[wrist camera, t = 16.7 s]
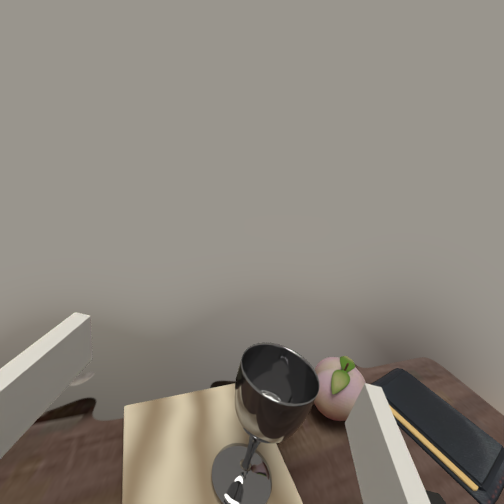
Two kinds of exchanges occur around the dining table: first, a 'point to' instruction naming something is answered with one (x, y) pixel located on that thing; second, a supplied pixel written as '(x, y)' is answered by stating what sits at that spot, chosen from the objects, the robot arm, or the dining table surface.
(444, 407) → the wallet
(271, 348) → the wine glass
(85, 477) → the dining table surface
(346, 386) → the decorative fruit
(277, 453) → the board
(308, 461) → the dining table surface
